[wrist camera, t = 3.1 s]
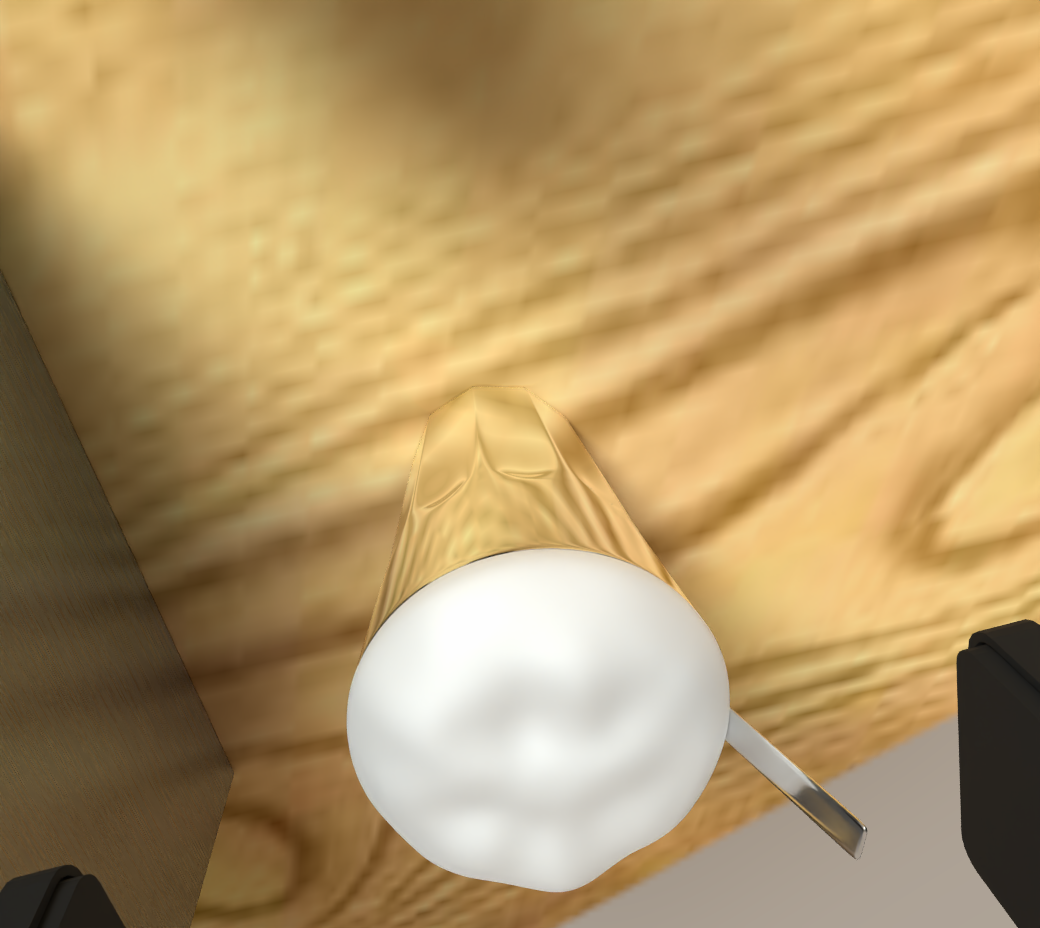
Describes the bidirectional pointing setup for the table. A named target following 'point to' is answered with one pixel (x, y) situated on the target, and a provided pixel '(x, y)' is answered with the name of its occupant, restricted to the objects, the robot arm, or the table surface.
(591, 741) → the milkshake
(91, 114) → the table surface
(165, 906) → the box
